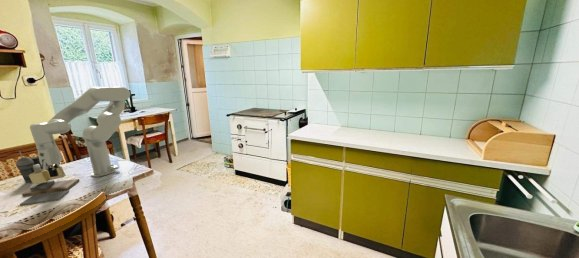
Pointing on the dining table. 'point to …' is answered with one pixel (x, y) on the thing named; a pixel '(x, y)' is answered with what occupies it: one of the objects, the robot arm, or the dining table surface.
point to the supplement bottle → (37, 161)
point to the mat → (44, 198)
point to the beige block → (45, 176)
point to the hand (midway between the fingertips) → (55, 175)
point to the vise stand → (49, 185)
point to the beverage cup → (25, 167)
